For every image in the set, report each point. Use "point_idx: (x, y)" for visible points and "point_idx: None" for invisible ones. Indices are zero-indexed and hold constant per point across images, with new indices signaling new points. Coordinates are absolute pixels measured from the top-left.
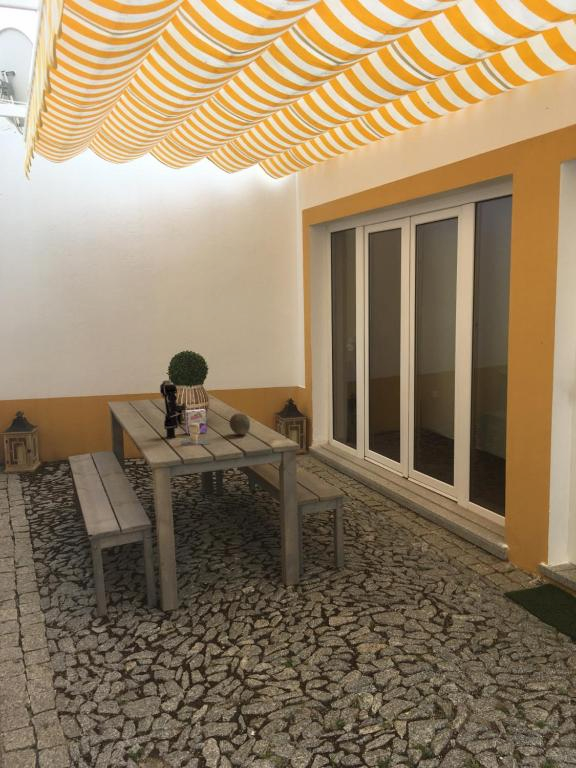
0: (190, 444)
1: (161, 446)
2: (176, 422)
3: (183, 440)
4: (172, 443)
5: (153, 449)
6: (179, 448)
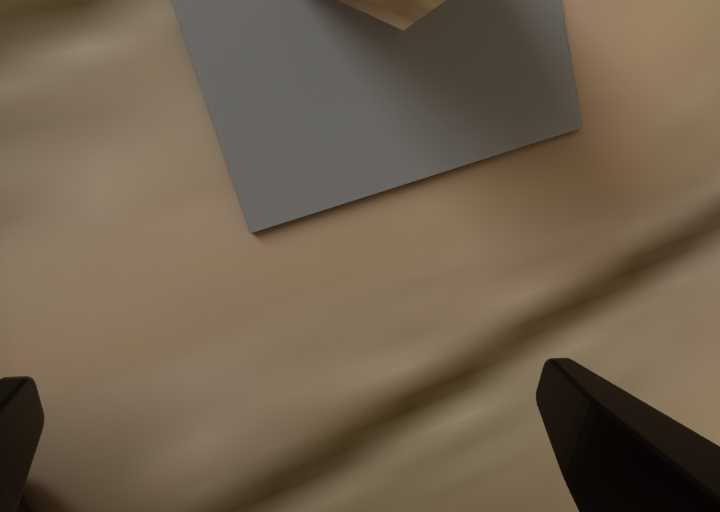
0: (539, 2)
1: None
2: (693, 447)
3: (249, 202)
4: (413, 337)
5: None
6: (699, 140)
